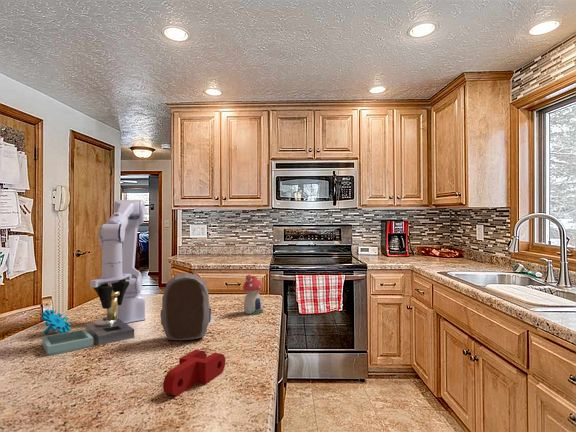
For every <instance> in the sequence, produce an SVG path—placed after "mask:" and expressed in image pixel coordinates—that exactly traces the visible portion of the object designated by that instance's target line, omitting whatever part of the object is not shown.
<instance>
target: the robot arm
mask: <svg viewBox="0 0 576 432" xmlns="http://www.w3.org/2000/svg"><path fill="white" fill-rule="evenodd" d="M145 207H146V205H145V201H144V200H143V199H116V200H115V201H114V204H113V212H114V213H112V214H111V216H110V217H109V219H108V220H107V221H106V223H103V224H102V225H100V226H99V228H98V229H99V230H98V239H99V246H100V249H101V276H99V277H98V278H95V279H91V280H90V281H89V288H93V290H94V291H95V292H96V293H97V295H98V297H99V300H100V304H101V307H102V309H105V310H107V309H109V308H110V300H111V293H112V291H113V290H118V291H120V295H118V318H119V319H120V320H122V321H123V322H124V323H126V324H129V323H136V322H139V321H144V320H146V301H145V295H144V294H143V293H142V289H143V279H142V278H143V274H142V273H141V272H140V271H139V270H137V269H136V268H135V265H136V251H137V242H138V241H137V240H138V231H139V227H140V225H142V224H144V221H145V212H146V208H145Z"/></svg>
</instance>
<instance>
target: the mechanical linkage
mask: <svg viewBox="0 0 576 432" xmlns="http://www.w3.org/2000/svg"><path fill="white" fill-rule="evenodd" d="M178 362H179V364H178V365H176V366H175V367H173V368H171V369H169V370H168V371H167V373H166V374H165V376H164V379H163V382H162V383H163V384H162V389H163V392H164V393H165V394H166V395H171V396H175V397H178V396H180V395H182V394H183V393H184V392H186V391H187V390H188V389H190V388H191V387H194V385H196V384H200V385H204V386H206V385H208V384H209V383H210V382H211V381H213V380H214V379H216V378H217V377H219V376H220V375H222V374H223V372H224V370H225V366H226V356H225V355H224V354H223V353H219V352H213V353H211V354H209V355H208V356H207V353H206V351H205V350H201V349H194V350H192V351H189V352H188V353H186V354H185V355H183V356H181V357H179V361H178Z"/></svg>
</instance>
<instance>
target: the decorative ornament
mask: <svg viewBox="0 0 576 432" xmlns="http://www.w3.org/2000/svg"><path fill="white" fill-rule="evenodd" d="M242 286H243V287H242V289H243V290H242V291H243V292H244V293H246V295H245V297H244V301H243V310H244V314H246V315H251V316H254V315H260V314H262V313H263V311H264V306H263V304H262V303H263V302H262V301H263V300H262V297H261V295H260V293H259V291H261V290H262V289H263V287H264V285H263V282H262V281H261V280H260V279H259V277H257V276H253V275H251V274H246V275H245V282H244V284H243V285H242Z"/></svg>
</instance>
